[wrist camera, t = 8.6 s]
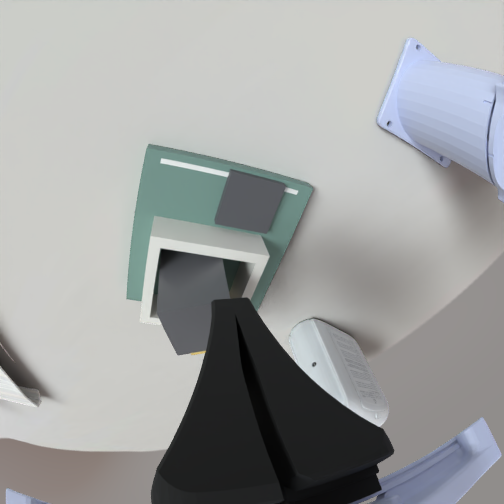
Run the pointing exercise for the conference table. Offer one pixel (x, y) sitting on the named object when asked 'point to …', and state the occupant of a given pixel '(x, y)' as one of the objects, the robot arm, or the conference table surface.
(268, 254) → the board
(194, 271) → the plug
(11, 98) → the conference table surface
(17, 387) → the white keyboard
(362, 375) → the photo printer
